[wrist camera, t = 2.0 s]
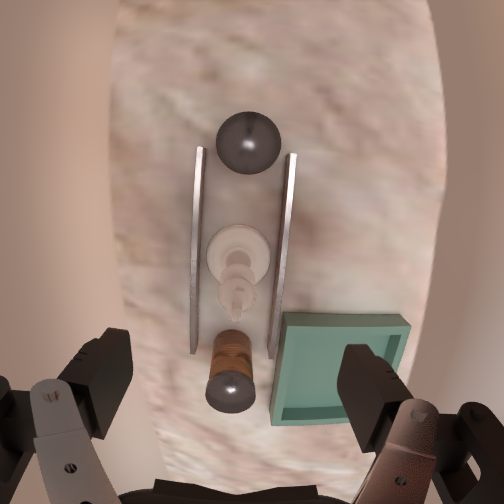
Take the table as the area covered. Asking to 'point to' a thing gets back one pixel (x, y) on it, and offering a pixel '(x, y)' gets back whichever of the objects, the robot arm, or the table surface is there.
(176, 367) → the table surface
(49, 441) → the robot arm
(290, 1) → the table surface
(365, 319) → the tray
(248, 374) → the rail
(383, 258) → the table surface
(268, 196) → the table surface
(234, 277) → the chess piece
